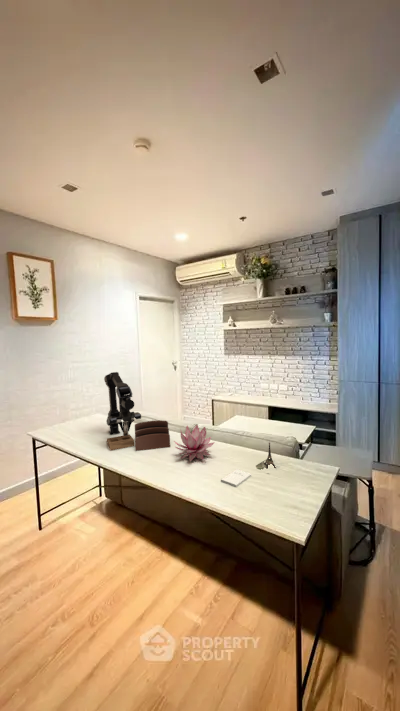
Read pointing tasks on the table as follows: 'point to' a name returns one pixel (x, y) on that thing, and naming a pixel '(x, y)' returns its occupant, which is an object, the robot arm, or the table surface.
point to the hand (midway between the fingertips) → (125, 431)
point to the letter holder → (152, 435)
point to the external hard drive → (236, 478)
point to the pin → (125, 428)
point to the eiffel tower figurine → (266, 461)
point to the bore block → (120, 442)
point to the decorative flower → (195, 443)
